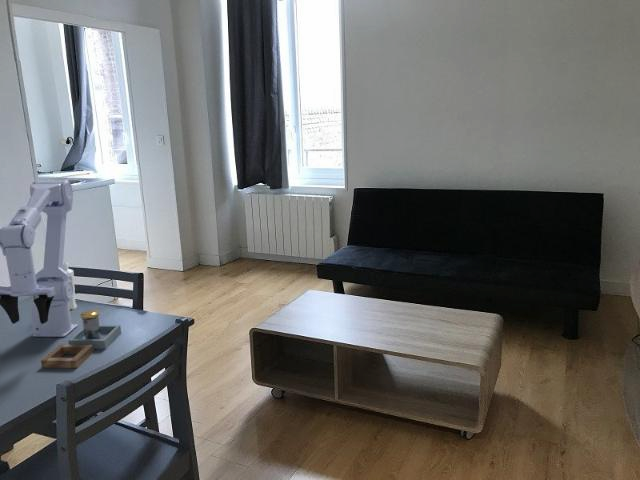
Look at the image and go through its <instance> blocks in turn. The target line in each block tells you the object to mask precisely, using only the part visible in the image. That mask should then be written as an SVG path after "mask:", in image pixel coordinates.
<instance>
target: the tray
mask: <svg viewBox="0 0 640 480" xmlns="http://www.w3.org/2000/svg"><path fill="white" fill-rule="evenodd" d="M99 325H100V332H101V339H85V333H84V327H83V326H82V327H81V329H79V331H77V332H76V333H75V334H73V336H71V337H70V338H69V339H68V340H67V341H68V342H67V343H68V345H93V348H94V350H107V349H108V348H109V347H110V345H112V344H113V342H115V340H116V339H118V337H119V336H120V335H121V334H122V329H121V328H122V327H121V325H120V324H119V325H118V324H117V325H116V324H115V325H111V324H109V325H106V324H99Z"/></svg>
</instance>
